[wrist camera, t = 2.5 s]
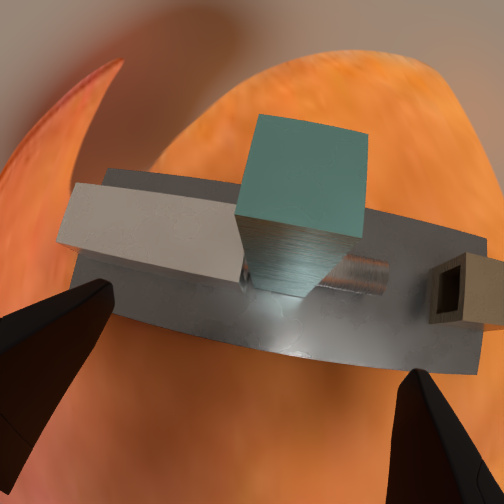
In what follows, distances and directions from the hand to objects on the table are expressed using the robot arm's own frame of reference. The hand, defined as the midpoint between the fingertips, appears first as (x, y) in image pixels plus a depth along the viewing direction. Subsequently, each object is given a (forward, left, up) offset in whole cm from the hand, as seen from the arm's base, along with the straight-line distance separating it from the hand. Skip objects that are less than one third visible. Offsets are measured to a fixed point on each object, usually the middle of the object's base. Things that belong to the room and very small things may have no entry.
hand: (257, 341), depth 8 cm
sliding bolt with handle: (0, +5, -10) cm, 11 cm away
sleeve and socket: (+3, +3, -11) cm, 12 cm away
